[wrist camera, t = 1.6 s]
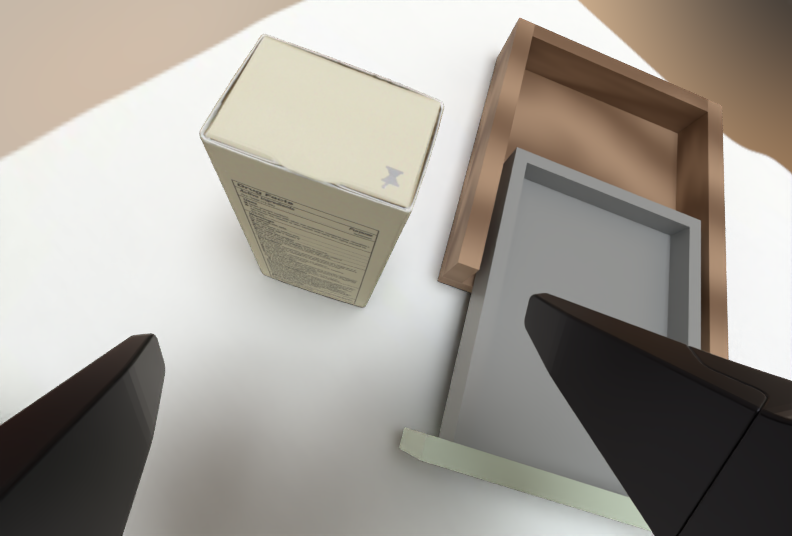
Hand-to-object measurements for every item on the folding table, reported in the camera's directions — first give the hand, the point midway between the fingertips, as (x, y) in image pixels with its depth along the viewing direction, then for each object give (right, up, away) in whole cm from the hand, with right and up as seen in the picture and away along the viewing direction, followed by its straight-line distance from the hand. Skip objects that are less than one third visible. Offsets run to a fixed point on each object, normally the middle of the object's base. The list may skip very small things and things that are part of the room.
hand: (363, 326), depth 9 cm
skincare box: (-3, +2, +13) cm, 14 cm away
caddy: (+13, +6, +18) cm, 23 cm away
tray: (+11, -2, +14) cm, 18 cm away
